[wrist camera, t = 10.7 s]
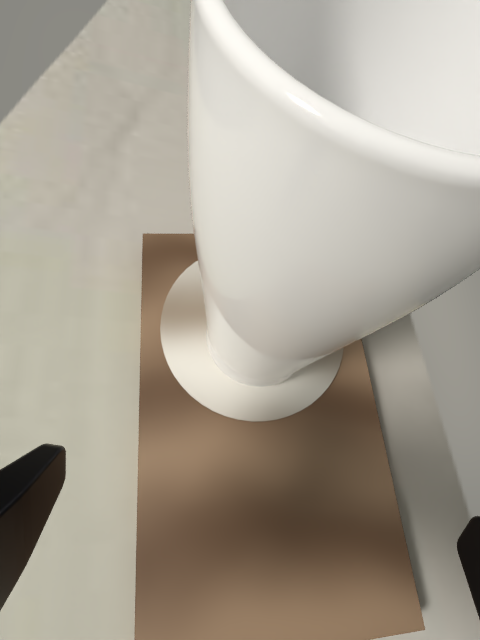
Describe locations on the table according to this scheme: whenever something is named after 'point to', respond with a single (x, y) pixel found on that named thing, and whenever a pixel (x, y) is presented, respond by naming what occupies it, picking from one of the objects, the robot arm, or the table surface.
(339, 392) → the walnut board
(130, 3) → the table surface
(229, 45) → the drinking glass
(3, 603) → the robot arm
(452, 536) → the table surface
